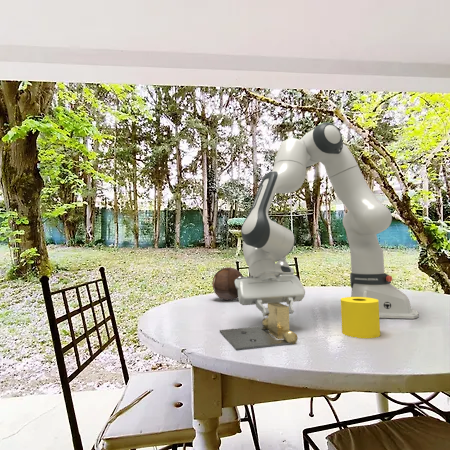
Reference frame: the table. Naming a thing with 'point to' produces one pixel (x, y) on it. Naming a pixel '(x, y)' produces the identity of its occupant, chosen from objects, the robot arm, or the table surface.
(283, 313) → the plate
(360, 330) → the yellow toilet paper roll
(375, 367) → the table surface
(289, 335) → the fixed leaf
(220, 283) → the wooden sphere
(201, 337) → the table surface
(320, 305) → the table surface
